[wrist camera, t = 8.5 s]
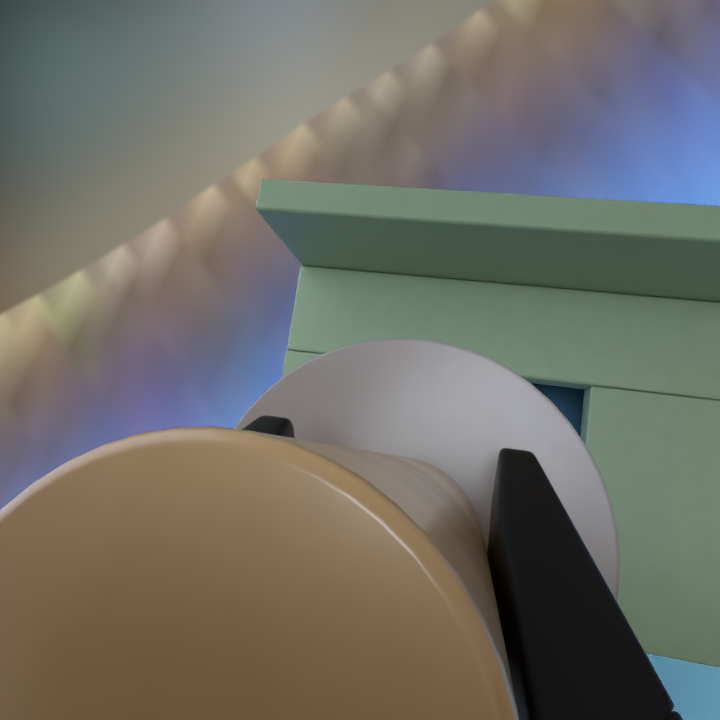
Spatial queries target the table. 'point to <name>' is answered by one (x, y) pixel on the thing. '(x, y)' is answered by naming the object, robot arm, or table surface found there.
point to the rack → (551, 345)
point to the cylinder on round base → (289, 552)
